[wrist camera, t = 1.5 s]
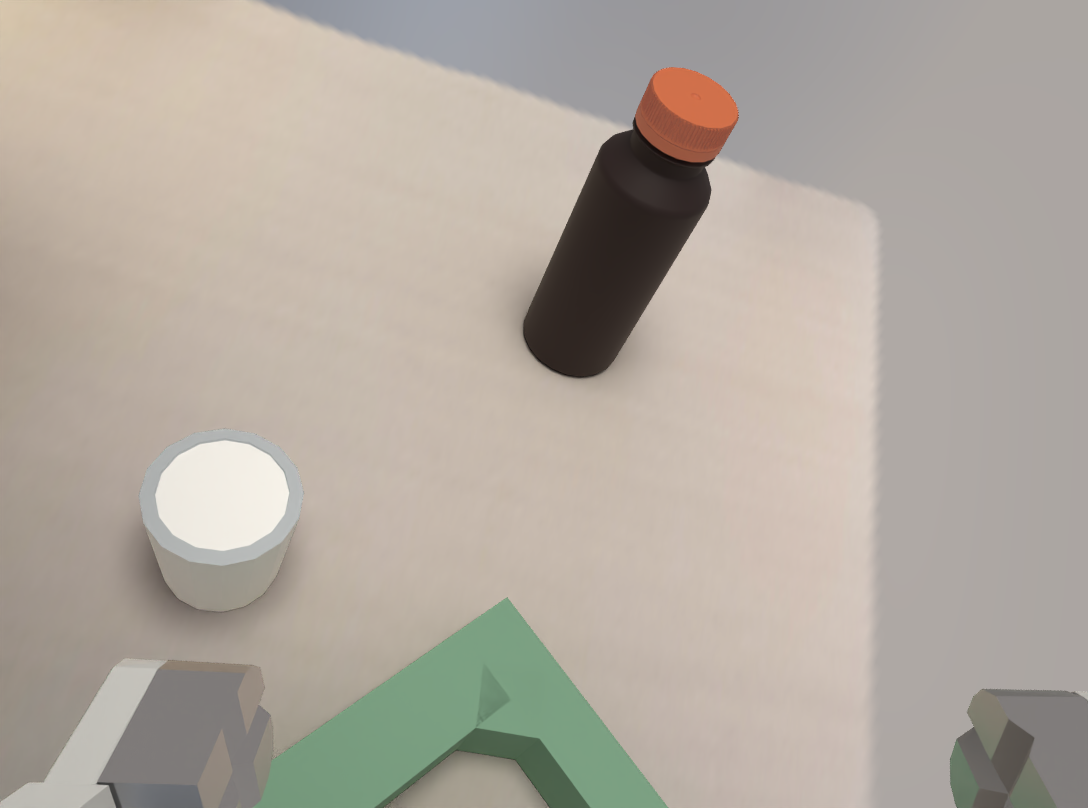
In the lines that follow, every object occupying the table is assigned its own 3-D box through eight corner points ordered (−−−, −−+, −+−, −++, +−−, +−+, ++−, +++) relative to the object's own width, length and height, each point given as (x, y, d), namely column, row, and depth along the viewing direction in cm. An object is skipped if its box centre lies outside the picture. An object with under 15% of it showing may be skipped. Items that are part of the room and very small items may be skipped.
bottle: (628, 333, 61) (769, 99, 46) (594, 396, 57) (737, 162, 42) (545, 286, 62) (658, 37, 46) (505, 345, 57) (615, 93, 42)
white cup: (220, 653, 41) (222, 596, 36) (115, 563, 42) (101, 494, 36) (321, 554, 45) (336, 490, 40) (223, 474, 46) (225, 401, 41)
